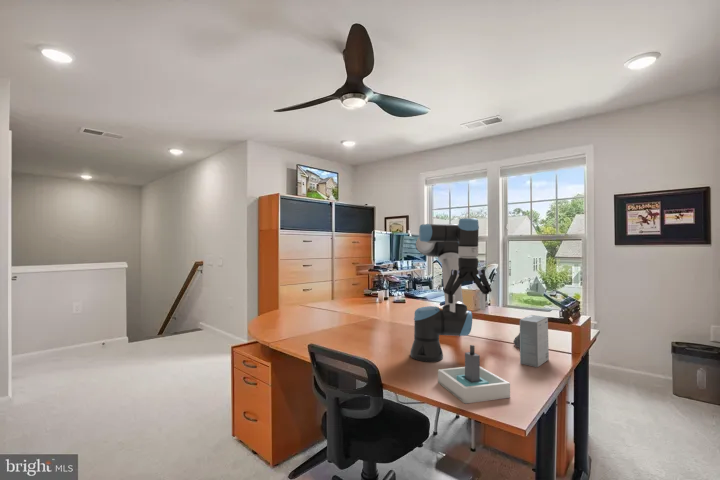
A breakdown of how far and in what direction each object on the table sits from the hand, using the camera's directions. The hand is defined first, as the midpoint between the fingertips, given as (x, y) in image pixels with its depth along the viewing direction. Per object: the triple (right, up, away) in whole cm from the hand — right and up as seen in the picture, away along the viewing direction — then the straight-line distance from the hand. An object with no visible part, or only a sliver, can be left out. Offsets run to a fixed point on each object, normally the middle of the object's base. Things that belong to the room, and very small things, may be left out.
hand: (467, 310), depth 133 cm
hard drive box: (+37, -28, +21) cm, 51 cm away
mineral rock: (+43, -29, +41) cm, 66 cm away
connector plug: (-2, -26, -11) cm, 28 cm away
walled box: (-2, -27, -11) cm, 29 cm away
